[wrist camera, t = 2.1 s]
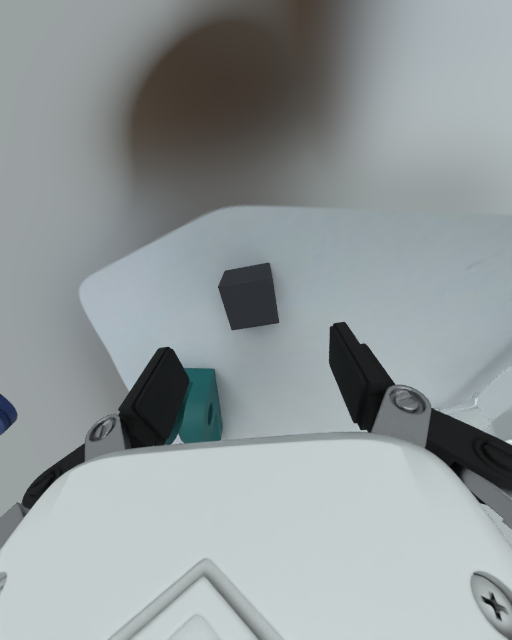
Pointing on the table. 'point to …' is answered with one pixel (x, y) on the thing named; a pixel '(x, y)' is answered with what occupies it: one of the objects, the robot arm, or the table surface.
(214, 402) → the bracket
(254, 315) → the dark grey cube
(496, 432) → the llama figurine
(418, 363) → the table surface
